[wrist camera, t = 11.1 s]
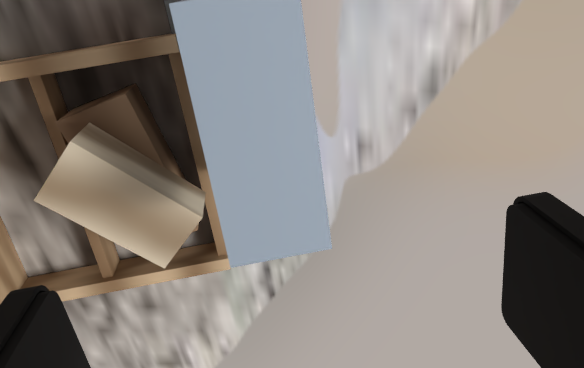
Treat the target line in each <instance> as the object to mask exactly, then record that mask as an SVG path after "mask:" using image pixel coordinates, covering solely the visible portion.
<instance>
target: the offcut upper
mask: <svg viewBox="0 0 584 368" xmlns="http://www.w3.org/2000/svg"><path fill="white" fill-rule="evenodd" d="M205 194H206V192H204V191H203V190H201V189H199V188H198V187H196V186H194V185H193V184H191V183H189V182H188V181H186V180H184V179H183V178H181V177H179V176H178V175H176V174H175V173H173V172H171V171H170V170H168V169H166V168H165V167H163V166H161V165H160V164H158V163H156V162H155V161H153V160H151V159H150V158H148V157H146V156H145V155H143V154H141V153H140V152H138V151H136V150H135V149H133V148H131V147H130V146H128V145H126V144H125V143H123V142H121V141H120V140H118V139H116V138H115V137H113V136H111V135H110V134H108V133H106V132H105V131H103V130H101V129H100V128H98V127H96V126H95V125H93V124H91V123H90V122H89V123H88V124H87V125H86V126H85V127H84V128H83V129H82V130H81V131H80V132H79V133H78V134H77V135H76V136H75V137H74V138H73V139H72V140H71V141H70V142H69V144H68V146H67V147H66V149H65V151H64V152H63V154H62V155H61V157H60V159H59V160H58V162H57V164H56V165H55V167H54V168H53V170H52V172H51V173H50V175H49V177H48V178H47V180H46V181H45V183H44V185H43V186H42V188H41V190H40V191H39V193H38V194H37V196H36V198H35V199H34V201H36V202H37V203H39V204H41V205H43V206H45V207H47V208H49V209H51V210H53V211H55V212H57V213H59V214H60V215H62V216H64V217H66V218H68V219H70V220H72V221H74V222H76V223H78V224H80V225H82V226H84V227H85V228H87V229H89V230H91V231H93V232H95V233H97V234H99V235H101V236H103V237H105V238H107V239H108V240H110V241H112V242H114V243H116V244H118V245H120V246H122V247H124V248H126V249H128V250H130V251H132V252H133V253H135V254H137V255H139V256H141V257H143V258H145V259H147V260H149V261H151V262H153V263H155V264H156V265H158V266H160V267H162V268H164V269H165V268H166V266H167V265H168V264H169V262H170V261H171V259H172V258H173V257H174V255H175V254H176V253H177V251H178V250H179V249H180V247H181V246H182V245H183V243H184V242H185V241H186V239H187V238H188V237H189V235H190V234H191V233H192V231H193V230H194V229H195V227H196V226H197V225H198V223H199V222H200V220H201V219H202V218H203V210H204V202H205Z"/></svg>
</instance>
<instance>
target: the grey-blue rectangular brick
mask: <svg viewBox="0 0 584 368" xmlns="http://www.w3.org/2000/svg"><path fill="white" fill-rule="evenodd" d="M169 7H170V11H171V15H172V19H173V24H174V28H175V32H176V37H177V41H178V45H179V49H180V54H181V58H182V62H183V66H184V71H185V75H186V79H187V84H188V88H189V92H190V96H191V101H192V105H193V109H194V114H195V118H196V122H197V126H198V131H199V135H200V139H201V144H202V148H203V152H204V156H205V161H206V165H207V169H208V174H209V178H210V182H211V186H212V191H213V195H214V199H215V204H216V208H217V212H218V216H219V221H220V225H221V229H222V234H223V238H224V242H225V246H226V251H227V255H228V259H229V264H230V268H232V267H237V266H243V265H248V264H253V263H259V262H264V261H269V260H275V259H280V258H285V257H290V256H296V255H301V254H306V253H312V252H316V251H322V250H327V249H332V245H331V237H330V229H329V221H328V213H327V205H326V197H325V189H324V181H323V173H322V165H321V157H320V149H319V141H318V133H317V125H316V117H315V109H314V102H313V93H312V85H311V78H310V69H309V62H308V53H307V46H306V38H305V30H304V22H303V14H302V6H301V0H181V1H177V2H173V3H169Z"/></svg>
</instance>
